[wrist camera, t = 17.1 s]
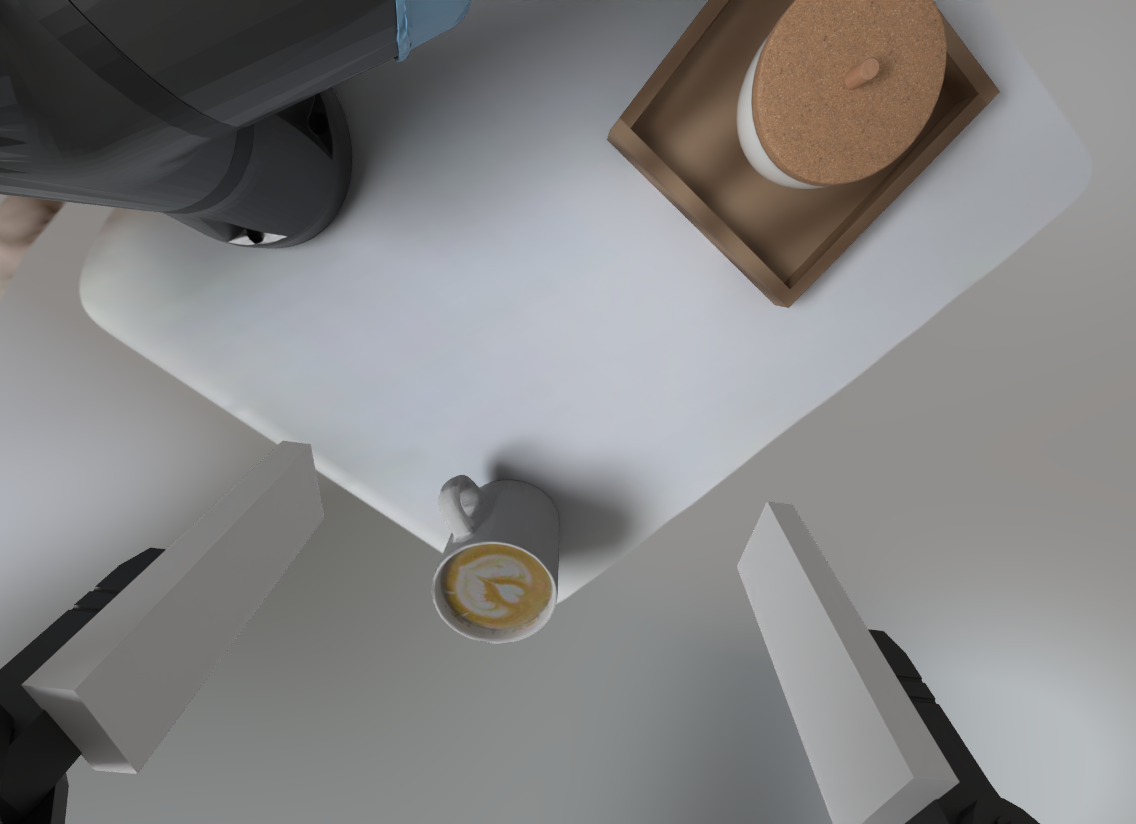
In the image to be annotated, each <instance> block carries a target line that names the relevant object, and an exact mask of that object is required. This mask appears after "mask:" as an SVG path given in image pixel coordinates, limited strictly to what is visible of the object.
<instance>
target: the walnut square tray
mask: <svg viewBox="0 0 1136 824" xmlns="http://www.w3.org/2000/svg"><path fill="white" fill-rule="evenodd" d="M794 1H795V0H709V1H708V2H707V3H706V4H705V6H704V7H703V8H702V10H701V11H700V12H699V14H698V15H697V16H696V18H695V19H694V20H693V22H692V23H691V24H690V26H689V27H688V28H687V30H686V31H685V32H684V33H683V35H682V36H681V37H680V39H679V40H678V41H677V43H676V44H675V45H674V47H673V48H672V49H671V51H670V52H669V53H668V55H667V56H666V57H665V59H664V60H663V61H662V63H661V64H660V65H659V66H658V68H657V69H656V70H655V72H654V73H653V74H652V76H651V77H650V78H649V80H648V81H647V82H646V84H645V85H644V86H643V88H642V89H641V90H640V92H639V93H638V94H637V96H636V97H635V98H634V99H633V101H632V102H631V103H630V105H629V106H628V107H627V109H626V110H625V111H624V113H623V114H622V115H621V117H620V118H619V119H618V121H617V122H616V123H615V125H614V126H613V127H612V129H611V130H610V132H609V135H608V138H607V140H608V141H609V142H610V143H611V144H612V145H613V146H614V147H615V148H616V149H617V150H618V151H619V152H620V153H621V154H622V155H623V156H624V157H625V158H626V159H627V160H628V161H629V162H630V163H631V164H632V165H633V166H634V167H635V168H636V169H637V170H638V171H639V172H640V173H641V174H642V175H643V176H644V177H645V178H647V179H648V180H649V181H650V182H651V183H652V184H653V185H654V186H655V187H656V188H657V189H658V190H659V191H660V192H661V193H662V194H663V195H664V196H665V197H666V198H667V199H668V200H669V201H670V202H671V203H672V204H673V205H674V206H675V207H676V208H677V209H678V210H679V211H680V212H681V213H682V214H683V215H684V216H685V217H686V218H687V219H688V220H689V221H690V222H691V223H692V224H693V225H694V226H695V227H696V228H697V229H698V230H699V231H700V232H701V233H702V234H703V235H704V236H705V237H706V238H707V239H708V240H709V241H710V242H711V243H712V244H714V245H715V246H716V247H717V248H718V249H719V250H720V251H721V252H722V253H723V254H724V255H725V256H726V257H727V258H728V259H729V260H730V261H731V262H732V263H733V264H734V265H735V266H736V267H737V268H738V269H739V270H740V271H741V272H742V273H743V274H744V275H745V276H746V277H747V278H748V279H749V280H750V281H751V282H752V283H753V284H754V285H755V286H756V287H757V288H758V289H759V290H760V291H761V292H762V293H763V294H764V295H765V296H766V297H767V298H768V299H769V300H770V301H771V302H772V303H773V304H774V305H778V306H782V307H787V308H789V307H790V306H791V305H792V304H793V303H794V302H795V301H796V300H797V299H798V298H799V297H800V296H801V295H802V294H803V293H804V292H805V291H806V290H807V289H808V288H809V287H810V286H811V285H812V284H813V283H814V281H815V280H816V279H817V278H818V277H819V276H820V275H821V274H822V273H823V272H824V271H825V270H826V269H827V268H828V267H829V266H830V265H831V264H832V263H833V262H834V261H835V260H836V259H837V258H838V257H839V256H840V255H841V254H842V253H843V252H844V251H845V250H846V249H847V248H848V247H849V246H850V245H851V244H852V243H853V242H854V241H855V240H856V239H857V238H858V237H859V235H860V234H861V233H862V232H863V231H864V230H865V229H866V228H867V227H868V226H869V225H870V224H871V223H872V222H873V221H874V220H875V219H876V218H877V217H878V216H879V215H880V214H881V213H882V212H883V211H884V210H885V209H886V208H887V207H888V206H889V205H890V204H891V203H892V202H893V201H894V200H895V199H896V198H897V197H898V196H899V195H900V194H901V193H902V192H903V191H904V189H905V188H906V187H907V186H908V185H909V184H910V183H911V182H912V181H913V180H914V179H915V178H916V177H917V176H918V175H919V174H920V173H921V172H922V171H923V170H924V169H925V168H926V167H927V166H928V165H929V164H930V163H931V162H932V161H933V160H934V159H935V158H936V157H937V156H938V155H939V154H940V153H941V152H942V151H943V150H944V149H945V148H946V147H947V146H948V145H949V143H950V142H951V141H952V140H953V139H954V138H955V137H956V136H957V135H958V134H959V133H960V132H961V131H962V130H963V129H964V128H965V127H966V126H967V125H968V124H969V123H970V122H971V121H972V120H973V119H974V118H975V117H976V116H977V115H978V114H979V113H980V112H981V111H982V110H983V109H984V108H985V107H986V106H987V105H988V104H989V103H990V102H991V101H992V100H993V99H994V97H995V96H996V95H997V94H998V93H999V92H1000V91H999V90H998V88H997V87H996V86H995V84H994V83H993V82H992V80H991V79H990V78H989V76H988V75H987V74H986V72H985V71H984V70H983V68H982V67H981V66H980V64H979V63H978V62H977V60H976V59H975V58H974V56H973V55H972V54H971V52H970V51H969V50H968V48H967V47H966V46H965V44H964V43H963V41H962V40H961V39H960V37H959V36H958V35H957V33H956V32H955V31H954V29H953V28H952V27H951V25H950V24H949V23H948V21H947V20H946V19H945V17H944V16H943V15H942V13H941V12H940V11H939V12H940V14H941V18H942V22H943V26H944V30H945V38H946V45H947V51H946V67H945V73H944V80H943V84H942V87H941V90H940V94H939V97H938V100H937V102H936V104H935V107H934V109H933V111H932V114H931V116H930V117H929V119H928V121H927V123H926V124H925V126H924V128H923V129H922V131H921V132H920V134H919V135H918V136H917V138H916V139H915V140H914V141H913V143H912V144H911V145H910V146H909V147H908V148H907V149H906V150H905V151H904V152H903V153H902V154H901V155H900V156H899V157H898V158H897V159H896V160H894V161H893V162H892V163H891V164H889V165H888V166H887V167H885V168H883V169H882V170H880V171H878V172H877V173H875V174H873V175H871V176H869V177H866V178H864V179H861V180H859V181H855V182H851V183H847V184H843V185H838V186H829V187H824V188H815V189H796V188H789V187H785V186H781V185H778V184H775V183H773V182H771V181H769V180H767V179H766V178H764V177H763V176H762V175H760V174H759V173H758V172H757V171H756V170H755V169H754V168H753V167H752V165H751V164H750V163H749V161H748V159H747V158H746V156H745V155H744V152H743V150H742V147H741V145H740V141H739V137H738V132H737V122H736V118H737V104H738V99H739V93H740V90H741V87H742V84H743V81H744V78H745V75H746V73H747V70H748V68H749V66H750V64H751V62H752V60H753V58H754V56H755V55H756V53H757V51H758V50H759V48H760V46H761V45H762V43H763V42H764V40H765V39H766V37H767V36H768V35H769V33H770V32H771V31H772V29H773V28H774V26H775V25H776V23H777V21H778V20H779V19H780V17H781V16H782V15H783V14H784V13H785V11H786V10H787V9H788V8H789V7H790V5H791V4H792V3H793V2H794ZM938 10H939V9H938Z"/></svg>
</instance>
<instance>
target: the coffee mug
mask: <svg viewBox="0 0 1136 824" xmlns="http://www.w3.org/2000/svg"><path fill="white" fill-rule="evenodd" d="M460 500H461V502H460ZM461 503H462V506H463V507H462V506H461ZM438 505H439V511H440V513H441V516H442V518H443V520H444V522H445V523H446V525H447V526H448V528H449V529H450V530H451V532H452V534H451V536H450V538H449V541H448V543H447V545H446V548H445V550H444V552H443V555H442V557H441V560H440V562H439V564H438V567H437V569H436V572H435V574H434V577H433V582H432V598H433V601H434V605H435V607H436V609H437V611H438V613H439V615H440V616H441V618H442V619H443V620H444V621H445V622H446V623H447V624H448V625H449V626H450V627H451V628H453V629H454V630H455V631H456V632H458V633H460V634H462V635H464V636H466V637H468V638H470V639H473V640H476V641H480V642H485V643H495V644H499V643H511V642H515V641H518V640H522V639H524V638H527V637H529V636H531V635H532V634H534V633H536V632H537V631H539V630H540V629H541V628H542V627H543V626H544V625H545V624H546V623H547V622H548V620H549V619H550V617H551V616H552V614H553V612H554V609H555V606H556V602H557V593H558V563H559V532H560V521H559V515H558V512H557V509H556V507H555V505H554V504H553V502H552V501H551V499H550V498H549V497H548V496H547V495H546V494H545V493H544V492H542V491H541V490H540V489H538V488H537V487H535V486H533V485H531V484H528V483H525V482H522V481H517V480H500V481H495V482H491V483H488V484H486V485H484V486H482V487H480V488H479V487H478V486H477V485H476V484H475V483H474V482H473V481H472V480H471V479H470V478H469V477H467V476H465V475H458V476H456V477H454V478H452V479H450V480H449V481H447V482H446V483H445V484H444V485H443V487H442V489H441V491H440V495H439V501H438Z"/></svg>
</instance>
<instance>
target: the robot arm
mask: <svg viewBox="0 0 1136 824" xmlns="http://www.w3.org/2000/svg"><path fill="white" fill-rule="evenodd" d="M470 3H471V0H0V194H3V195H12V196H21V197H30V198H38V199H47V200H56V201H65V202H74V203H82V204H92V205H100V206H109V207H117V208H126V209H135V210H144V211H154V212H162V213H164V214H166V215H168V216H170V217H172V218H174V219H176V220H178V221H180V222H182V223H184V224H186V225H188V226H189V227H191V228H193V229H195V230H197V231H199V232H201V233H203V234H205V235H207V236H209V237H212V238H214V239H217V240H219V241H222V242H226V243H229V244H233V245H237V246H243V247H253V248H284V247H290V246H293V245H297V244H300V243H302V242H305V241H307V240H309V239H310V238H312V237H314V236H315V235H317V234H318V233H320V232H321V231H322V230H323V229H324V228H325V227H326V226H327V225H328V224H329V223H330V222H331V221H332V219H333V218H334V217H335V215H336V214H337V212H338V211H339V209H340V207H341V205H342V203H343V201H344V199H345V196H346V193H347V190H348V186H349V181H350V176H351V165H352V153H351V142H350V136H349V131H348V127H347V123H346V120H345V117H344V114H343V111H342V108H341V106H340V104H339V101H338V99H337V97H336V95H335V93H334V91H333V90H332V88H331V87H332V86H335V85H337V84H339V83H341V82H343V81H345V80H347V79H349V78H352V77H354V76H356V75H358V74H360V73H362V72H364V71H366V70H369V69H371V68H373V67H375V66H377V65H379V64H381V63H383V62H386V61H388V60H390V59H392V58H395V60H396V62H402V61H404V60H405V59H406V58H407V57H408V55H409V53H410V50H412V49H414V48H416V47H418V46H419V45H421V44H423V43H425V42H427V41H429V40H431V39H432V38H434V37H436V36H438V35H440V34H442V33H444V32H445V31H447V30H449V29H451V28H453V27H454V26H456V25H457V24H458V23H459V22H460V21H461V20H462V19H463V18H464V16H465V15H466V13H467V11H468V8H469V6H470ZM323 519H324V514H323V508H322V502H321V497H320V493H319V487H318V481H317V476H316V471H315V465H314V460H313V455H312V450H311V444H304V443H296V442H288V441H282V442H281V443H280V444H279V445H278V446H277V447H276V448H275V449H274V450H272V451H271V452H270V453H269V454H268V455H267V456H266V457H265V458H264V459H263V460H262V461H261V462H260V463H258V464H257V466H255V467H254V468H253V469H252V470H251V471H250V472H249V473H248V474H247V475H246V476H245V477H243V479H241V480H240V481H239V482H238V483H237V484H236V485H235V486H234V487H233V488H232V489H231V490H230V491H228V492H227V493H226V494H225V495H224V496H223V497H222V498H221V499H220V500H219V501H218V502H217V503H216V504H215V505H214V506H212V507H211V508H210V509H209V510H208V511H207V512H206V513H205V514H204V515H203V516H202V517H201V518H200V519H198V520H197V521H196V522H195V524H193V525H192V526H191V527H190V528H189V529H188V530H187V531H186V532H185V533H184V534H182V535H181V536H180V537H179V538H178V539H177V540H176V541H175V542H174V543H173V544H172V545H171V546H170V547H169V548H168V549H157V548H149V549H147V550H146V551H144V552H142V553H140V554H139V555H137V556H135V557H133V558H132V559H130V560H128V561H126V562H124V563H123V564H121V565H119V566H118V567H117V568H116V569H115V570H114V571H112V572H111V573H110V574H109V575H108V576H107V577H106V578H104V579H103V580H102V581H101V582H100V583H99V584H98V585H97V586H95V589H94V591H90V592H88V593H87V594H86V595H85V596H84V597H83V598H82V599H80V600H79V601H78V602H77V603H76V604H75V605H74V608H73V609H72V610H68V611H67V612H65V613H64V614H63V615H62V616H61V617H60V618H59V619H57V620H56V621H55V622H54V623H53V624H52V625H51V626H49V627H48V628H47V629H46V630H45V631H44V632H43V633H42V634H40V635H39V636H38V637H37V638H36V639H35V640H33V641H32V642H31V643H30V644H29V645H28V646H27V647H25V648H24V649H23V650H22V651H21V652H20V653H19V654H17V655H16V656H15V657H14V658H13V659H12V660H11V661H9V662H8V663H7V664H6V665H5V666H4V667H3V668H1V669H0V824H65V816H66V815H65V814H66V806H67V797H68V787H69V785H68V781H67V775H66V771H67V770H68V769H69V768H70V767H71V766H72V764H73V763H74V762H75V761H76V760H77V758H78V757H79V756H80V755H82V756H83V757H84V758H85V760H86V761H87V762H88V763H89V764H90V765H91V767H93V769H94V770H102V771H111V772H122V773H132V774H138V773H139V772H140V770H141V769H142V767H143V766H144V765H145V763H146V762H147V761H148V759H149V758H150V757H151V755H152V754H153V752H154V751H155V750H156V748H157V747H158V746H159V744H160V743H161V741H162V740H163V739H164V737H165V736H166V735H167V733H168V732H169V730H170V729H171V728H172V726H173V725H174V724H175V722H176V721H177V719H178V718H179V717H180V715H181V714H182V713H183V711H184V710H185V708H186V707H187V706H188V704H189V703H190V702H191V700H192V699H193V697H194V696H195V695H196V693H197V692H198V691H199V689H200V688H201V686H202V685H203V684H204V682H205V681H206V680H207V678H208V677H209V675H210V674H211V673H212V671H213V670H214V669H215V667H216V666H217V664H218V663H219V662H220V660H221V659H222V658H223V656H224V655H225V653H226V652H227V651H228V649H229V648H230V646H231V645H232V644H233V642H234V641H235V640H236V638H237V637H238V636H239V634H240V633H241V631H242V630H243V629H244V627H245V626H246V624H247V623H248V622H249V620H250V619H251V617H252V616H253V615H254V613H255V612H256V611H257V609H258V608H259V606H260V605H261V604H262V602H263V601H264V600H265V598H266V597H267V596H268V594H269V593H270V591H271V590H272V589H273V587H274V586H275V585H276V583H277V582H278V580H279V579H280V578H281V576H282V575H283V574H284V572H285V571H286V569H287V568H288V567H289V565H290V564H291V563H292V561H293V560H294V558H295V557H296V556H297V554H298V553H299V552H300V550H301V549H302V547H303V546H304V545H305V543H306V542H307V541H308V539H309V538H310V536H311V535H312V533H313V532H314V531H315V530H316V528H317V527H318V525H319V524H320V523H321V521H322V520H323ZM737 568H738V571H739V573H740V576H741V579H742V581H743V584H744V587H745V589H746V592H747V595H748V597H749V600H750V602H751V605H752V608H753V611H754V613H755V616H756V619H757V622H758V624H759V627H760V630H761V632H762V635H763V637H764V640H765V643H766V646H767V648H768V651H769V654H770V656H771V659H772V662H773V664H774V667H775V670H776V672H777V675H778V678H779V680H780V683H781V686H782V688H783V691H784V694H785V697H786V699H787V702H788V704H789V707H790V710H791V712H792V715H793V718H794V721H795V723H796V726H797V728H798V731H799V734H800V737H801V739H802V742H803V744H804V747H805V750H806V753H807V755H808V758H809V761H810V763H811V766H812V769H813V772H814V774H815V777H816V779H817V782H818V785H819V787H820V790H821V793H822V796H823V798H824V801H825V803H826V806H827V809H828V812H829V814H830V817H831V820H832V822H833V824H1040V823H1038V822H1037V821H1036V820H1035V819H1034V818H1032V817H1031V816H1030V815H1029V814H1028V813H1026V812H1025V811H1024V810H1023V809H1021V808H1020V807H1018V806H1016V805H1014V804H1012V803H1010V802H1009V801H1007V800H1005V799H1003V798H1001V797H1000V796H999V795H998V793H997V792H996V791H995V789H994V788H993V786H992V785H991V784H990V782H989V781H988V779H987V778H986V776H985V775H984V773H983V772H982V770H981V768H980V767H979V765H978V764H977V762H976V761H975V759H974V758H973V756H972V755H971V753H970V751H969V750H968V748H967V747H966V746H965V744H964V742H963V741H962V739H961V738H960V736H959V734H958V733H957V731H956V730H955V728H954V727H953V725H952V724H951V722H950V721H949V719H948V718H947V716H946V715H945V713H944V712H943V710H942V708H941V707H940V705H939V704H936V702H935V698H934V696H933V694H932V693H931V692H930V690H929V688H928V687H927V685H926V684H925V683H923V682H922V678H921V676H920V675H919V673H918V671H917V670H916V668H915V667H914V665H913V664H912V662H911V661H910V659H909V658H908V656H907V654H906V653H905V652H904V651H903V650H902V649H901V648H900V647H899V646H898V645H897V644H896V643H895V642H894V641H893V640H892V639H891V638H890V637H889V636H888V635H887V634H886V633H885V632H884V631H877V630H869V629H867V627H866V626H865V624H864V622H863V621H862V619H861V617H860V616H859V614H858V612H857V611H856V609H855V607H854V606H853V604H852V602H851V601H850V599H849V597H848V596H847V594H846V592H845V591H844V589H843V587H842V586H841V584H840V582H839V581H838V579H837V577H836V576H835V574H834V572H833V571H832V569H831V568H830V566H829V564H828V562H827V561H826V559H825V557H824V556H823V554H822V552H821V551H820V549H819V547H818V546H817V544H816V542H815V541H814V539H813V538H812V536H811V534H810V533H809V531H808V529H807V527H806V526H805V524H804V523H803V521H802V519H801V518H800V516H799V515H798V513H797V511H796V509H795V508H794V506H793V505H791V504H783V503H775V502H767V503H766V505H765V508H764V509H763V512H762V514H761V516H760V518H759V520H758V523H757V525H756V527H755V529H754V531H753V533H752V535H751V538H750V540H749V542H748V544H747V546H746V548H745V551H744V553H743V555H742V557H741V559H740V561H739V563H738V566H737Z"/></svg>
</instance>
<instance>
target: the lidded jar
mask: <svg viewBox="0 0 1136 824" xmlns="http://www.w3.org/2000/svg"><path fill="white" fill-rule="evenodd" d="M946 51H947V45H946V38H945V30H944V26H943V22H942V18H941V14H940V12H939V10H938V8H937V6H936V4H935V2H934V0H795V1H794V2H793V3H792V4H791V5H790V7H789V8H788V9H787V10H786V11H785V13H784V14H783V15H782V16H781V17H780V19H779V20H778V21H777V23H776V25H775V26H774V28H773V29H772V31H771V32H770V33H769V35H768V36H767V37H766V39H765V40H764V42H763V43H762V45H761V46H760V48H759V50H758V51H757V53H756V55H755V56H754V58H753V60H752V62H751V64H750V66H749V68H748V70H747V73H746V75H745V78H744V81H743V84H742V87H741V90H740V93H739V99H738V104H737V118H736V122H737V132H738V137H739V141H740V145H741V147H742V150H743V152H744V155H745V156H746V158H747V159H748V161H749V163H750V164H751V165H752V167H753V168H754V169H755V170H756V171H757V172H758V173H759V174H760V175H762V176H763V177H764V178H766V179H767V180H769V181H771V182H773V183H775V184H778V185H781V186H785V187H789V188H796V189H815V188H824V187H829V186H838V185H843V184H847V183H851V182H855V181H859V180H861V179H864V178H866V177H869V176H871V175H873V174H875V173H877V172H878V171H880V170H882V169H883V168H885V167H887V166H888V165H889V164H891V163H892V162H893V161H894V160H896V159H897V158H898V157H899V156H900V155H901V154H902V153H903V152H904V151H905V150H906V149H907V148H908V147H909V146H910V145H911V144H912V143H913V141H914V140H915V139H916V138H917V136H918V135H919V134H920V132H921V131H922V129H923V128H924V126H925V124H926V123H927V121H928V119H929V117H930V116H931V114H932V111H933V109H934V107H935V104H936V102H937V100H938V97H939V94H940V90H941V87H942V84H943V80H944V73H945V67H946Z"/></svg>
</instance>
